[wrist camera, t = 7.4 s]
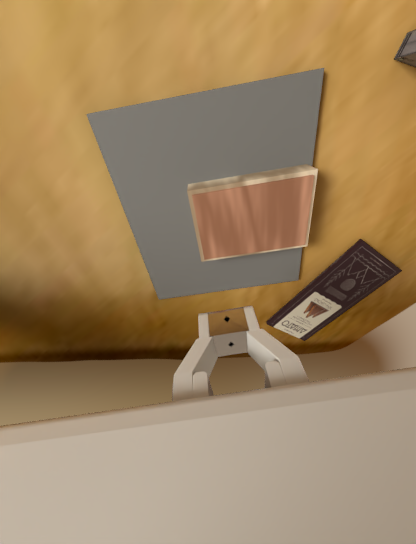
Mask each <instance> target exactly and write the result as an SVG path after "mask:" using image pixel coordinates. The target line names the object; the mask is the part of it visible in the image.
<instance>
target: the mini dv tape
mask: <svg viewBox="0 0 416 544" xmlns="http://www.w3.org/2000/svg"><path fill="white" fill-rule="evenodd" d="M394 60H397V61H400V62H403V63H405V64H408V65H411V66H414V67H416V30H413V31H411V32H408V33H407V35H406V36H405V38H404V40H403V42H402V44H401V46H400V48H399V50H398V52H397V54H396V56H395V58H394Z"/></svg>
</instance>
